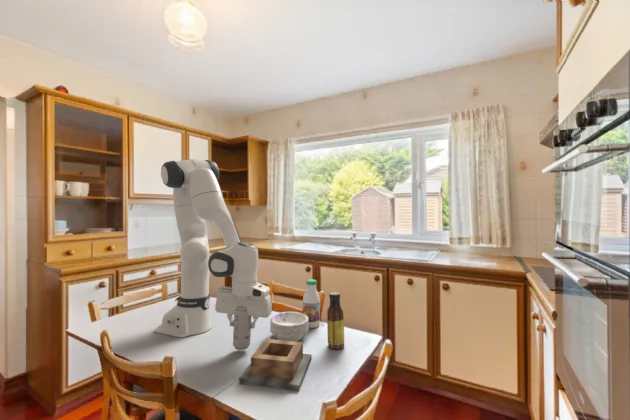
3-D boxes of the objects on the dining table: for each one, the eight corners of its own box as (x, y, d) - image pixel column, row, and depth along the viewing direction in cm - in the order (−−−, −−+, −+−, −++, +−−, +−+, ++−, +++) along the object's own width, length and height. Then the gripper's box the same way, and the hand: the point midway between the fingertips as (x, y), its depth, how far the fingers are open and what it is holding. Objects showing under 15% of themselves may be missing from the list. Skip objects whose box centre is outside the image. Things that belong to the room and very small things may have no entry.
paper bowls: (303, 348, 106) (303, 326, 106) (264, 344, 109) (264, 323, 109) (312, 331, 121) (312, 312, 121) (277, 328, 124) (277, 309, 124)
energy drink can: (249, 350, 100) (251, 308, 100) (231, 351, 100) (233, 308, 99) (250, 342, 106) (252, 302, 106) (234, 342, 106) (235, 302, 105)
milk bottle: (302, 322, 131) (302, 278, 132) (318, 321, 132) (319, 278, 132) (302, 329, 124) (303, 282, 124) (320, 328, 124) (321, 282, 125)
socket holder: (239, 383, 84) (239, 360, 84) (261, 353, 102) (261, 335, 102) (299, 390, 81) (299, 367, 81) (311, 358, 98) (311, 339, 98)
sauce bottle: (346, 344, 110) (346, 291, 110) (342, 351, 104) (342, 296, 104) (329, 341, 112) (329, 290, 112) (324, 348, 106) (325, 294, 106)
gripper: (213, 287, 102) (210, 326, 101) (268, 292, 99) (266, 333, 98) (221, 283, 108) (219, 320, 108) (274, 288, 105) (272, 326, 104)
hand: (242, 326), depth 103 cm, fingers closed on energy drink can, 6 cm apart
